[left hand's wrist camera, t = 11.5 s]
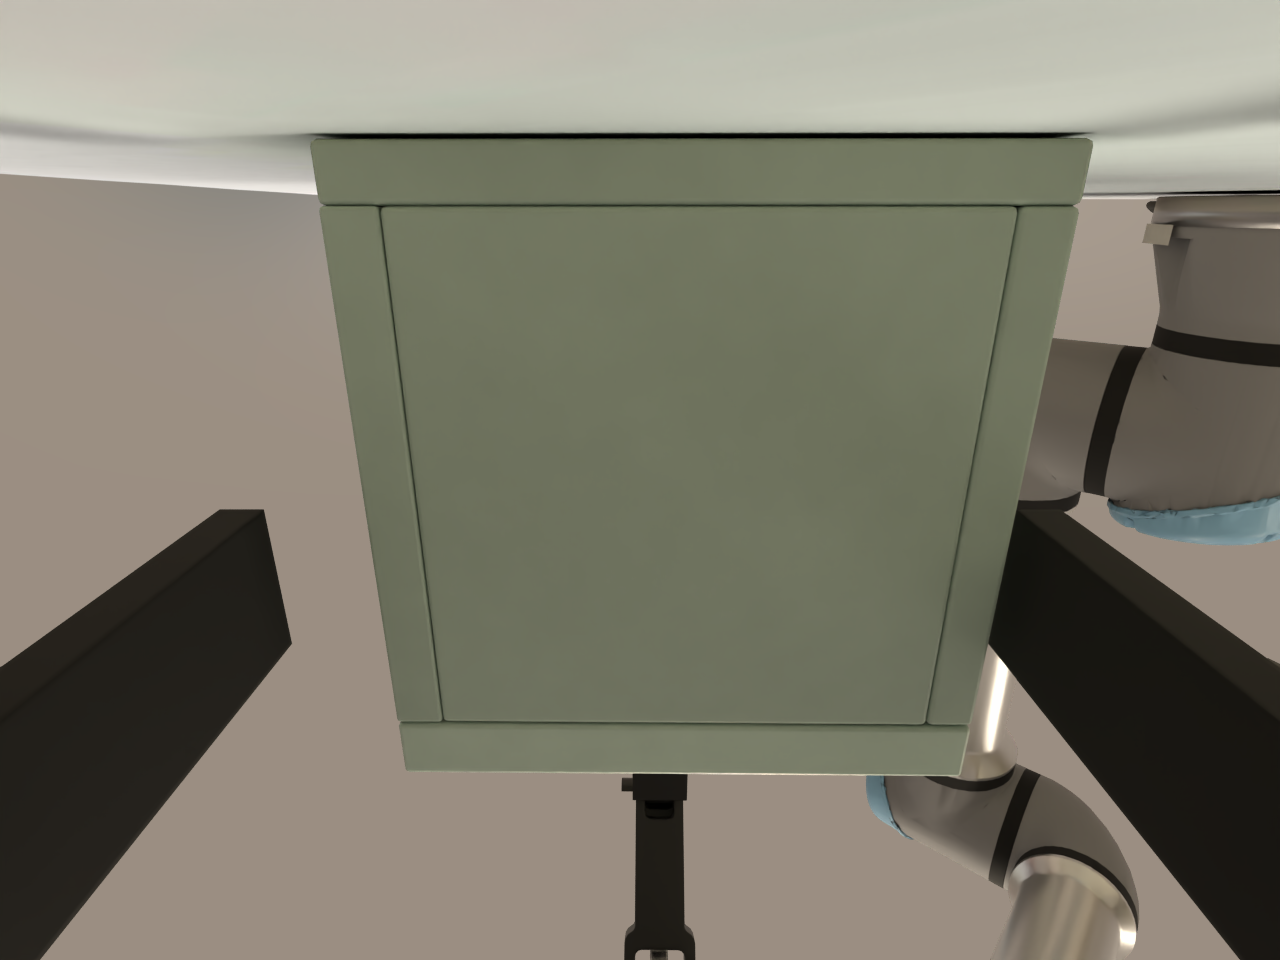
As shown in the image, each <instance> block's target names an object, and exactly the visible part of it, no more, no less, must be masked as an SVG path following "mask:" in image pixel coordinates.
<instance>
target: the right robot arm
mask: <svg viewBox="0 0 1280 960" xmlns="http://www.w3.org/2000/svg"><path fill="white" fill-rule="evenodd" d="M1146 206H1147V208H1148V209H1149V210H1150V211H1151V212H1152V213H1153V217H1152V221H1151V224H1147V226H1146V230H1145V234H1144V238H1143V243H1150V244H1153V248H1154V258H1155V266H1156V275H1157V284H1158V293H1159V302H1160V313H1159V318H1158V322H1157V326H1156V329H1155V333H1154V337H1153V341H1152V344H1151V347H1149V348H1144V347H1134V346H1126V345H1117V344H1107V343H1096V342H1086V341H1077V340H1067V339H1057V338H1052V342H1051V347H1050V352H1049V357H1048V362H1047V366H1046V371H1045V376H1044V381H1043V385H1042V390H1041V395H1040V400H1039V404H1038V409H1037V414H1036V419H1035V423H1034V428H1033V433H1032V438H1031V442H1030V447H1029V452H1028V457H1027V461H1026V466H1025V471H1024V476H1023V480H1022V485H1021V490H1020V495H1019V499H1018V504H1017V509H1016V510H1062V511H1063V512H1064V513H1066V514H1069V513H1071V512H1073V511H1074V510H1075V509H1076V507H1077V505H1078V502H1079V498H1080V493H1081V492H1086V493H1092V494H1096V495H1100V496H1105V497H1108V498H1109V499H1108V502H1107V506H1108V507H1109V512H1110V514H1111V516H1112V517H1113V518H1114V519H1115V520H1116V521H1117V522H1119V523H1120V524H1122V525H1124V526H1126V527H1131V528H1135V529H1136V530H1137V531H1138V532H1141V533H1144V534H1147V535H1151V536H1154V537H1159V538H1163V539H1168V540H1174V541H1181V542H1188V543H1197V544H1208V545H1248V544H1256V543H1263V542H1270V541H1274V540H1278V539H1280V195H1224V196H1169V197H1158V198H1157V201H1150V202H1148V203H1147V205H1146ZM1015 684H1016V678H1015V677H1014V676H1013V674H1012V673H1011V672H1010V671H1009V669H1008V668H1007V667H1006V665H1005V664H1004V663H1003V662H1002V660H1001V659H1000V658H999V657H998V655H997V654H996V653H995V652H994V650H993V649H992V648H991V647H990V645H989V644H988V647H987V651H986V656H985V661H984V666H983V670H982V675H981V680H980V685H979V689H978V694H977V699H976V704H975V708H974V713H973V718H972V722H971V723H970V724H968V727H969V730H970V733H969V738H968V743H967V747H966V752H965V757H964V762H963V766H962V771H961V774H960V775H959V776H883V775H867V776H866V791H867V798H868V802H869V805H870V808H871V809H872V811H873V813H874V814H875V815H876V816H877V817H878V818H879V819H880V820H881V821H883V822H884V823H886V824H888V825H889V826H891V827H893V828H894V829H896V830H897V831H898V832H899V833H900V834H901V835H902V836H904V837H906V838H908V839H915V840H917V841H918V842H920V843H922V844H924V845H926V846H927V847H929V848H931V849H933V850H935V851H936V852H938V853H940V854H942V855H944V856H945V857H947V858H949V859H951V860H953V861H954V862H956V863H958V864H960V865H962V866H963V867H965V868H967V869H969V870H971V871H972V872H974V873H976V874H978V875H980V876H982V877H983V878H985V879H987V880H989V881H991V882H993V883H994V884H996V885H998V886H1000V887H1002V888H1004V889H1005V890H1007V891H1008V893H1009V898H1010V903H1011V906H1012V909H1011V911H1010V914H1009V916H1008V919H1007V921H1006V923H1005V926H1004V928H1003V930H1002V933H1001V935H1000V938H999V940H998V942H997V945H996V947H995V949H994V952H993V954H992V957H991V959H990V960H1124V959H1125V958H1126V957H1127V956H1128V955H1129V954H1130V953H1131V951H1132V949H1133V947H1134V944H1135V940H1136V935H1137V930H1138V923H1139V903H1138V897H1137V893H1136V888H1135V885H1134V881H1133V878H1132V875H1131V872H1130V869H1129V867H1128V865H1127V863H1126V861H1125V859H1124V857H1123V855H1122V853H1121V851H1120V849H1119V847H1118V845H1117V843H1116V842H1115V840H1114V839H1113V837H1112V836H1111V834H1110V833H1109V831H1108V830H1107V828H1106V827H1105V826H1104V824H1103V823H1102V822H1101V821H1100V820H1099V818H1098V817H1097V816H1096V815H1095V814H1094V812H1093V811H1092V810H1091V809H1090V808H1089V807H1088V806H1087V805H1086V804H1085V803H1084V802H1083V801H1082V800H1081V799H1080V798H1078V797H1077V796H1076V795H1075V794H1073V793H1072V792H1071V791H1069V790H1068V789H1066V788H1065V787H1063V786H1062V785H1060V784H1058V783H1057V782H1055V781H1053V780H1052V779H1049V778H1047V777H1045V776H1042V775H1040V774H1038V773H1036V772H1033V771H1031V770H1029V769H1027V768H1025V767H1023V766H1021V765H1018V764H1016V761H1017V755H1018V750H1017V746H1016V742H1015V740H1014V738H1013V736H1012V735H1011V733H1010V732H1009V731H1008V730H1007V728H1006V723H1007V719H1008V715H1009V710H1010V706H1011V701H1012V697H1013V693H1014V688H1015ZM622 791H633V800H636V876H635V877H636V878H635V922H634V924H633V925H632V926H630V927H629V928H628V929H627V931H626V935H625V953H624V960H635V954H636V952H637V951H639V950H650V960H668V950H680V951H682V952H683V953H684V960H695V941H694V936H693V932H692V931H691V929H690V928H689V927H688V926H686V925H685V923H684V846H683V800H687V774H642V773H633V778H622Z"/></svg>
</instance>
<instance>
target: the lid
mask: <svg viewBox="0 0 1280 960" xmlns="http://www.w3.org/2000/svg"><path fill="white" fill-rule="evenodd" d="M399 728H400V734H401V741H402V747H403V754H404V760H405V767H406V770H407V771H410V772H522V773H642V774H763V775H764V774H765V775H883V776H959V775H960V774H961V771H962V766H963V762H964V757H965V752H966V747H967V743H968V738H969V733H970V730H969V727H968V725H943V724H929V723H927V722H926V720H925V722H924V723H923V724H802V723H670V722H537V721H447V720H445V719H444V716H443V719H442V720H441V721H401V722H400V725H399Z"/></svg>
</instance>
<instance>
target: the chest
mask: <svg viewBox="0 0 1280 960" xmlns="http://www.w3.org/2000/svg"><path fill="white" fill-rule="evenodd" d="M310 147H311V154H312V160H313V167H314V173H315V180H316V186H317V193H318V198H319V201H320V203H321V204H324V205H326V206H322V207H320V210H319V212H320V218H321V225H322V231H323V238H324V244H325V251H326V257H327V264H328V270H329V277H330V283H331V290H332V296H333V302H334V309H335V315H336V322H337V329H338V335H339V342H340V348H341V355H342V361H343V368H344V374H345V381H346V387H347V394H348V400H349V407H350V413H351V420H352V426H353V433H354V439H355V446H356V452H357V459H358V465H359V472H360V478H361V485H362V491H363V498H364V504H365V511H366V517H367V524H368V530H369V537H370V543H371V550H372V556H373V563H374V569H375V576H376V582H377V589H378V595H379V602H380V608H381V615H382V621H383V628H384V634H385V641H386V647H387V653H388V660H389V667H390V673H391V680H392V686H393V693H394V699H395V706H396V712H397V719H398V720H399V721H441V720H442V719H443V716H444V719H445V720H447V721H537V722H670V723H802V724H923V723H924V722H925V720H926V722H927V723H929V724H943V725H968V724H970V723H971V722H972V718H973V713H974V708H975V704H976V699H977V694H978V689H979V685H980V680H981V675H982V670H983V666H984V661H985V656H986V651H987V647H988V642H989V637H990V632H991V628H992V623H993V618H994V613H995V609H996V604H997V599H998V594H999V590H1000V585H1001V580H1002V575H1003V571H1004V566H1005V561H1006V556H1007V552H1008V547H1009V542H1010V537H1011V533H1012V528H1013V523H1014V518H1015V514H1016V509H1017V504H1018V499H1019V495H1020V490H1021V485H1022V480H1023V476H1024V471H1025V466H1026V461H1027V457H1028V452H1029V447H1030V442H1031V438H1032V433H1033V428H1034V423H1035V419H1036V414H1037V409H1038V404H1039V400H1040V395H1041V390H1042V385H1043V381H1044V376H1045V371H1046V366H1047V362H1048V357H1049V352H1050V347H1051V342H1052V338H1053V333H1054V328H1055V323H1056V319H1057V314H1058V309H1059V304H1060V300H1061V295H1062V290H1063V285H1064V281H1065V276H1066V271H1067V266H1068V262H1069V257H1070V252H1071V247H1072V243H1073V238H1074V233H1075V228H1076V224H1077V219H1078V214H1079V213H1078V209H1077V208H1076V207H1074V206H1073V205H1075V204H1077V203H1079V202H1080V201H1081V199H1082V196H1083V191H1084V186H1085V181H1086V177H1087V172H1088V167H1089V162H1090V158H1091V153H1092V148H1093V142H1092V141H1091V140H1089V139H1087V138H637V139H315V140H313V141H312V142H311V146H310Z"/></svg>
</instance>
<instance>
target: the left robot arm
mask: <svg viewBox="0 0 1280 960" xmlns="http://www.w3.org/2000/svg"><path fill="white" fill-rule="evenodd" d="M291 644H292V642H291V637H290V632H289V628H288V623H287V618H286V613H285V609H284V604H283V599H282V594H281V589H280V585H279V580H278V575H277V571H276V566H275V561H274V556H273V551H272V547H271V542H270V537H269V532H268V528H267V523H266V518H265V513H264V510H219V511H217V512H216V513H214V514H213V515H211V516H210V517H209V518H207V519H206V520H205V521H203V522H202V523H200V524H199V525H198V526H196V527H195V528H193V529H192V530H191V531H189V532H188V533H186V534H185V535H184V536H182V537H181V538H180V539H178V540H177V541H175V542H174V543H173V544H171V545H170V546H169V547H167V548H166V549H164V550H163V551H161V552H160V553H159V554H157V555H156V556H155V557H153V558H152V559H150V560H149V561H148V562H146V563H145V564H143V565H142V566H141V567H139V568H138V569H137V570H135V571H134V572H132V573H131V574H130V575H128V576H127V577H125V578H124V579H123V580H121V581H120V582H118V583H117V584H116V585H114V586H113V587H112V588H110V589H109V590H107V591H106V592H105V593H103V594H102V595H100V596H99V597H98V598H96V599H95V600H93V601H92V602H91V603H89V604H88V605H87V606H85V607H84V608H82V609H81V610H80V611H78V612H77V613H75V614H74V615H73V616H71V617H70V618H68V619H67V620H66V621H64V622H63V623H62V624H60V625H59V626H57V627H56V628H55V629H53V630H52V631H50V632H49V633H48V634H46V635H45V636H43V637H42V638H41V639H39V640H38V641H37V642H35V643H34V644H32V645H31V646H30V647H28V648H27V649H25V650H24V651H23V652H21V653H20V654H18V655H17V656H16V657H14V658H13V659H12V660H10V661H9V662H7V663H6V664H5V665H3V666H1V667H0V960H40V959H41V958H42V957H43V955H44V954H45V953H46V952H47V950H48V949H49V948H50V947H51V945H52V944H53V943H54V941H55V940H56V939H57V938H58V937H59V935H60V934H61V933H62V931H63V930H64V929H65V928H66V926H67V925H68V924H69V923H70V921H71V920H72V919H73V918H74V916H75V915H76V914H77V913H78V911H79V910H80V909H81V908H82V906H83V905H84V904H85V903H86V901H87V900H88V899H89V898H90V896H91V895H92V894H93V893H94V891H95V890H96V889H97V888H98V886H99V885H100V884H101V883H102V881H103V880H104V879H105V878H106V876H107V875H108V874H109V873H110V871H111V870H112V869H113V868H114V866H115V865H116V864H117V862H118V861H119V860H120V859H121V857H122V856H123V855H124V854H125V852H126V851H127V850H128V849H129V847H130V846H131V845H132V844H133V842H134V841H135V840H136V839H137V837H138V836H139V835H140V834H141V832H142V831H143V830H144V829H145V827H146V826H147V825H148V824H149V822H150V821H151V820H152V819H153V817H154V816H155V815H156V814H157V812H158V811H159V810H160V809H161V807H162V806H163V805H164V803H165V802H166V801H167V800H168V798H169V797H170V796H171V795H172V793H173V792H174V791H175V790H176V788H177V787H178V786H179V785H180V783H181V782H182V781H183V780H184V778H185V777H186V776H187V775H188V773H189V772H190V771H191V770H192V768H193V767H194V766H195V765H196V763H197V762H198V761H199V760H200V758H201V757H202V756H203V755H204V753H205V752H206V751H207V750H208V748H209V747H210V746H211V745H212V743H213V742H214V741H215V739H216V738H217V737H218V736H219V734H220V733H221V732H222V731H223V729H224V728H225V727H226V726H227V724H228V723H229V722H230V721H231V719H232V718H233V717H234V716H235V714H236V713H237V712H238V711H239V709H240V708H241V707H242V706H243V704H244V703H245V702H246V701H247V699H248V698H249V697H250V696H251V694H252V693H253V692H254V690H255V689H256V688H257V687H258V685H259V684H260V683H261V682H262V681H263V679H264V678H265V677H266V676H267V674H268V673H269V672H270V670H271V669H272V668H273V667H274V665H275V664H276V663H277V662H278V660H279V659H280V658H281V657H282V655H283V654H284V653H285V652H286V650H287V649H288V648H289V647H290V645H291ZM988 644H989V645H990V647H991V648H992V649H993V650H994V652H995V653H996V654H997V655H998V657H999V658H1000V659H1001V660H1002V662H1003V663H1004V664H1005V665H1006V667H1007V668H1008V669H1009V671H1010V672H1011V673H1012V674H1013V676H1014V677H1015V678H1016V679H1017V681H1018V682H1019V683H1020V684H1021V686H1022V687H1023V688H1024V689H1025V691H1026V692H1027V693H1028V694H1029V696H1030V697H1031V698H1032V699H1033V701H1034V702H1035V703H1036V704H1037V706H1038V707H1039V708H1040V709H1041V711H1042V712H1043V713H1044V714H1045V716H1046V717H1047V718H1048V719H1049V721H1050V722H1051V723H1052V724H1053V726H1054V727H1055V728H1056V729H1057V731H1058V732H1059V733H1060V734H1061V736H1062V737H1063V738H1064V740H1065V741H1066V742H1067V743H1068V745H1069V746H1070V747H1071V748H1072V750H1073V751H1074V752H1075V753H1076V755H1077V756H1078V757H1079V758H1080V760H1081V761H1082V762H1083V763H1084V765H1085V766H1086V767H1087V768H1088V770H1089V771H1090V772H1091V773H1092V775H1093V776H1094V777H1095V778H1096V780H1097V781H1098V782H1099V783H1100V785H1101V786H1102V787H1103V788H1104V790H1105V791H1106V792H1107V793H1108V795H1109V796H1110V797H1111V798H1112V800H1113V801H1114V802H1115V804H1116V805H1117V806H1118V807H1119V808H1120V810H1121V811H1122V812H1123V814H1124V815H1125V816H1126V817H1127V819H1128V820H1129V821H1130V822H1131V824H1132V825H1133V826H1134V827H1135V829H1136V830H1137V831H1138V832H1139V834H1140V835H1141V836H1142V837H1143V839H1144V840H1145V841H1146V842H1147V844H1148V845H1149V846H1150V847H1151V849H1152V850H1153V851H1154V852H1155V854H1156V855H1157V856H1158V857H1159V859H1160V860H1161V861H1162V862H1163V864H1164V865H1165V866H1166V867H1167V869H1168V870H1169V871H1170V873H1171V874H1172V875H1173V876H1174V878H1175V879H1176V880H1177V881H1178V882H1179V884H1180V885H1181V886H1182V888H1183V889H1184V890H1185V891H1186V893H1187V894H1188V895H1189V896H1190V898H1191V899H1192V900H1193V901H1194V903H1195V904H1196V905H1197V906H1198V908H1199V909H1200V910H1201V911H1202V913H1203V914H1204V915H1205V916H1206V918H1207V919H1208V920H1209V921H1210V923H1211V924H1212V925H1213V926H1214V928H1215V929H1216V930H1217V931H1218V933H1219V934H1220V935H1221V937H1222V938H1223V939H1224V940H1225V942H1226V943H1227V944H1228V945H1229V947H1230V948H1231V949H1232V950H1233V952H1234V953H1235V954H1236V955H1237V957H1238V958H1239V959H1240V960H1280V664H1279V663H1277V662H1275V661H1273V660H1271V659H1268V658H1266V657H1264V656H1263V655H1262V654H1260V653H1259V652H1257V651H1256V650H1255V649H1253V648H1252V647H1250V646H1249V645H1248V644H1246V643H1245V642H1243V641H1242V640H1241V639H1239V638H1238V637H1237V636H1235V635H1234V634H1232V633H1231V632H1230V631H1228V630H1227V629H1225V628H1224V627H1223V626H1221V625H1220V624H1218V623H1217V622H1216V621H1214V620H1213V619H1212V618H1210V617H1209V616H1207V615H1206V614H1205V613H1203V612H1202V611H1200V610H1199V609H1198V608H1196V607H1195V606H1193V605H1192V604H1191V603H1189V602H1188V601H1187V600H1185V599H1184V598H1182V597H1181V596H1180V595H1178V594H1177V593H1175V592H1174V591H1173V590H1171V589H1170V588H1168V587H1167V586H1166V585H1164V584H1163V583H1161V582H1160V581H1159V580H1157V579H1156V578H1155V577H1153V576H1152V575H1150V574H1149V573H1148V572H1146V571H1145V570H1143V569H1142V568H1141V567H1139V566H1138V565H1137V564H1135V563H1134V562H1132V561H1131V560H1130V559H1128V558H1127V557H1125V556H1124V555H1123V554H1121V553H1120V552H1118V551H1117V550H1116V549H1114V548H1113V547H1111V546H1110V545H1109V544H1107V543H1106V542H1105V541H1103V540H1102V539H1100V538H1099V537H1098V536H1096V535H1095V534H1094V533H1092V532H1091V531H1089V530H1088V529H1087V528H1085V527H1084V526H1082V525H1081V524H1080V523H1078V522H1077V521H1075V520H1074V519H1073V518H1071V517H1070V516H1069V515H1067V514H1066V513H1064V512H1063V511H1062V510H1016V514H1015V518H1014V523H1013V528H1012V533H1011V537H1010V542H1009V547H1008V552H1007V556H1006V561H1005V566H1004V571H1003V575H1002V580H1001V585H1000V590H999V594H998V599H997V604H996V609H995V613H994V618H993V623H992V628H991V632H990V637H989V642H988Z"/></svg>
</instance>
